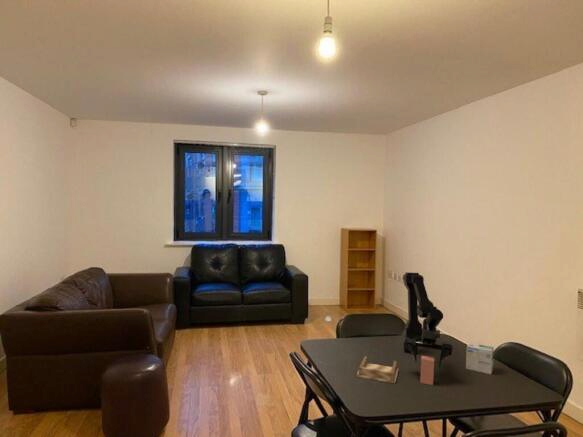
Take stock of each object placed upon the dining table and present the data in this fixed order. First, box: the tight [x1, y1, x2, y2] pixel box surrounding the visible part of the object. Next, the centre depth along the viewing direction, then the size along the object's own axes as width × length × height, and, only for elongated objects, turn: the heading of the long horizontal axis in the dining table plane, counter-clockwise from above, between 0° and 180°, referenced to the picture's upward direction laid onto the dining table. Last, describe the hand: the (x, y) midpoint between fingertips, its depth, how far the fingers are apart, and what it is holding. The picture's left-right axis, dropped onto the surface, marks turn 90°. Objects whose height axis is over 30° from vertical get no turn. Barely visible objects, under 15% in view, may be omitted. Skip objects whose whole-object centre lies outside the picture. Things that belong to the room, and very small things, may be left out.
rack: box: [356, 355, 399, 384], centre depth 173 cm, size 16×14×4 cm
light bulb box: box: [465, 342, 495, 375], centre depth 181 cm, size 11×7×11 cm, turn 58°
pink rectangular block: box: [419, 355, 435, 386], centre depth 166 cm, size 5×4×10 cm
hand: (427, 365), depth 165 cm, fingers open, 9 cm apart
